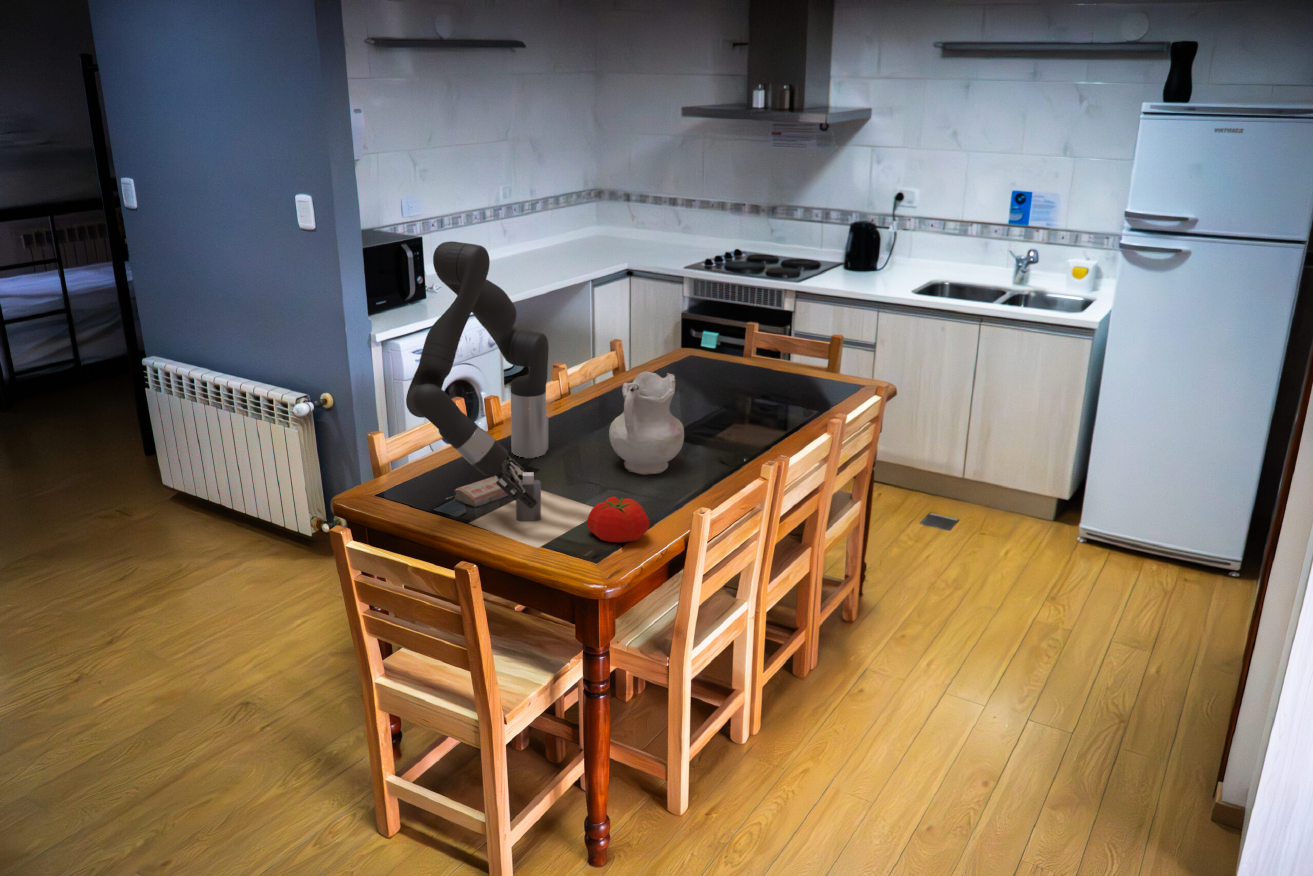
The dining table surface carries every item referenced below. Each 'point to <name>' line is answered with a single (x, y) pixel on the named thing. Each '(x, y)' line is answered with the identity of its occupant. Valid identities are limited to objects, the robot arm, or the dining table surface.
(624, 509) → the tomato
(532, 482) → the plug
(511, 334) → the robot arm
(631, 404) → the ceramic pitcher
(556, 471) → the dining table surface
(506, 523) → the cloth
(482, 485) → the packaged product
